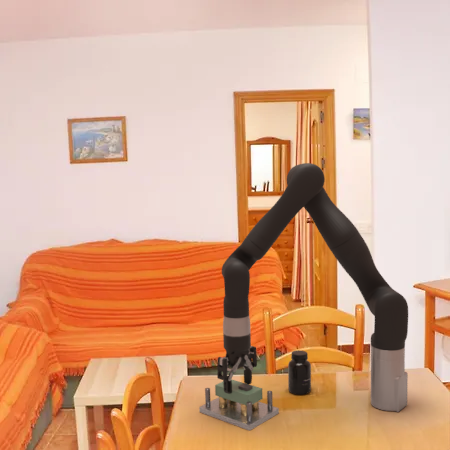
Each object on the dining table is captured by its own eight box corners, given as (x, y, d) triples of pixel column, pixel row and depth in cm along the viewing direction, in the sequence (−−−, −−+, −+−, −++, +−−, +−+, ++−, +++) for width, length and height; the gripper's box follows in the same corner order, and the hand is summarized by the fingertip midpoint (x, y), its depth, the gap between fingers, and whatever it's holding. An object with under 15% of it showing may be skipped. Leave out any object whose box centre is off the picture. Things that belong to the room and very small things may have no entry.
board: (262, 398, 152) (262, 384, 152) (249, 406, 148) (248, 391, 147) (229, 388, 160) (228, 375, 159) (215, 395, 155) (215, 381, 155)
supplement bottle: (310, 396, 164) (310, 357, 163) (287, 394, 165) (286, 356, 164) (311, 387, 171) (311, 349, 169) (289, 386, 172) (288, 348, 171)
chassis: (278, 413, 153) (278, 390, 152) (249, 430, 143) (248, 406, 143) (229, 396, 165) (229, 375, 164) (199, 412, 155) (198, 389, 154)
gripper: (230, 340, 144) (231, 400, 146) (263, 327, 155) (264, 383, 156) (209, 335, 149) (211, 393, 151) (242, 323, 160) (244, 377, 161)
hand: (238, 388), depth 153 cm, fingers open, 8 cm apart
